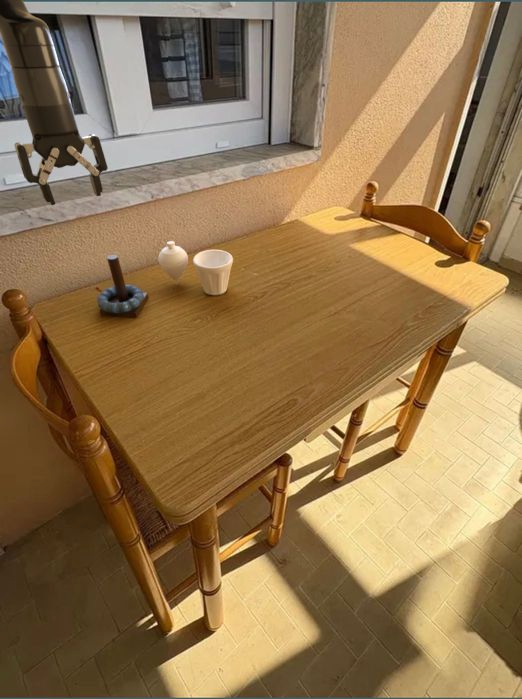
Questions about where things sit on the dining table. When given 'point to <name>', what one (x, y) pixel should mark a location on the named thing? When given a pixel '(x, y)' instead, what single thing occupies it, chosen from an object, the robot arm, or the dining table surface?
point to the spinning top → (173, 261)
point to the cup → (213, 270)
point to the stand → (121, 290)
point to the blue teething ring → (122, 306)
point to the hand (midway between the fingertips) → (75, 199)
